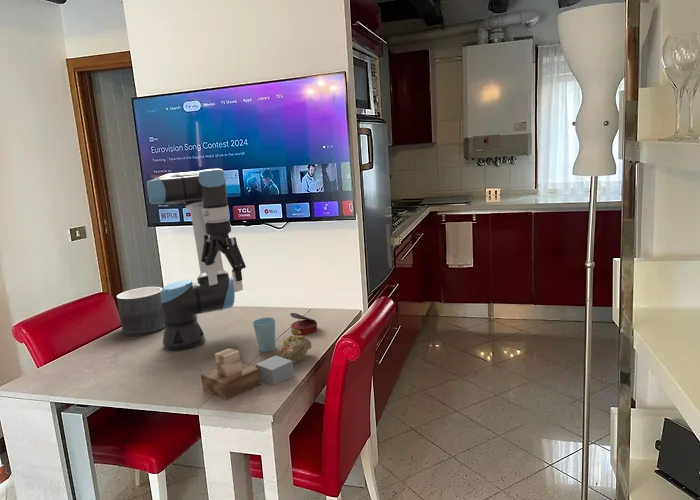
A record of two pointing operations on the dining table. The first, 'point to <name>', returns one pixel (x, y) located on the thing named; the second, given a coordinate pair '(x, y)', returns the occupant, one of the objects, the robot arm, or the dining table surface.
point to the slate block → (275, 369)
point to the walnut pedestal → (230, 382)
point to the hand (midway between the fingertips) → (225, 287)
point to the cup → (265, 333)
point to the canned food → (303, 325)
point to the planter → (141, 311)
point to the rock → (295, 348)
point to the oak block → (228, 362)
